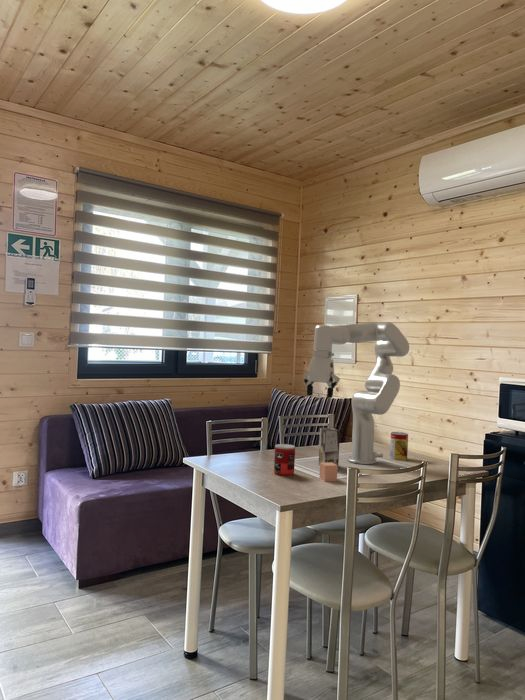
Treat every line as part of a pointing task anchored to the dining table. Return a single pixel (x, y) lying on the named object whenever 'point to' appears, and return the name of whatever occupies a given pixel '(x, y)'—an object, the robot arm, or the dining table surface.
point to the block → (328, 471)
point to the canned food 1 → (284, 459)
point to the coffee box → (329, 445)
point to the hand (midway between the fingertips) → (319, 396)
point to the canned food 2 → (399, 446)
